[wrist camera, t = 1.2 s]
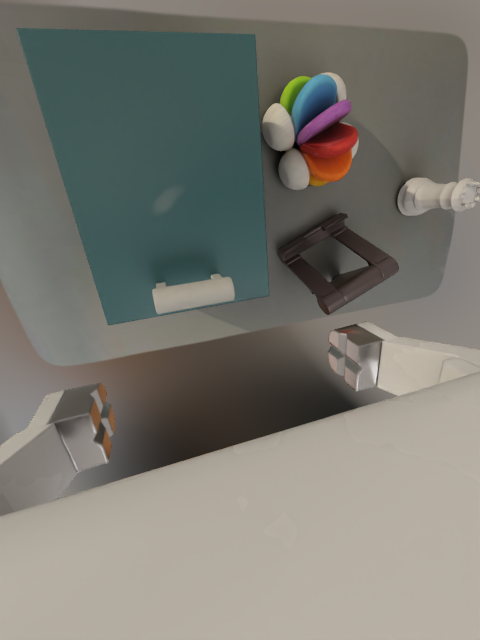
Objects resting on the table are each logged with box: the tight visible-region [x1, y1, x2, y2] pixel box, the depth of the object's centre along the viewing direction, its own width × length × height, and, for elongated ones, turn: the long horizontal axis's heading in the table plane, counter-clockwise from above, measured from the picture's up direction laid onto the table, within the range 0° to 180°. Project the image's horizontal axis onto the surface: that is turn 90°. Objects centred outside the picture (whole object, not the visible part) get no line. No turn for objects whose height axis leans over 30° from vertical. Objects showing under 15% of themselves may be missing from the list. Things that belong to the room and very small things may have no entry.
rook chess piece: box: [397, 178, 480, 216], centre depth 32 cm, size 4×4×8 cm
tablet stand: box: [278, 213, 399, 315], centre depth 32 cm, size 9×8×8 cm
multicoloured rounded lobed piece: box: [262, 73, 359, 190], centre depth 27 cm, size 8×10×7 cm
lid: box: [16, 28, 269, 325], centre depth 17 cm, size 16×13×5 cm
